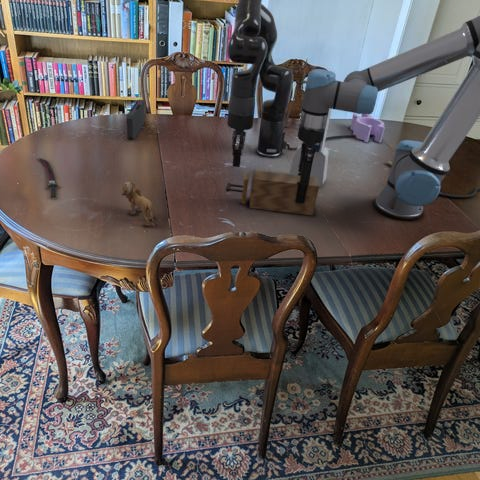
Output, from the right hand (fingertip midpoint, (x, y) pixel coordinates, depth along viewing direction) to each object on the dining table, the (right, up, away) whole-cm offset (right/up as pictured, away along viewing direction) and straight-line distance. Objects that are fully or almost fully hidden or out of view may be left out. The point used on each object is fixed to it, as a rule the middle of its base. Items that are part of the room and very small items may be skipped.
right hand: (299, 197), depth 147 cm
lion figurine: (-48, -7, -11) cm, 50 cm away
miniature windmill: (+6, +40, +70) cm, 81 cm away
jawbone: (+48, +13, +36) cm, 61 cm away
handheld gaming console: (-62, +32, +47) cm, 84 cm away
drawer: (-11, -2, +2) cm, 11 cm away
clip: (+39, +35, +69) cm, 87 cm away
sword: (-81, +7, +4) cm, 82 cm away
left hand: (-20, +9, -4) cm, 22 cm away
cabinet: (-6, -3, +2) cm, 7 cm away
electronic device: (+5, +8, +20) cm, 22 cm away
